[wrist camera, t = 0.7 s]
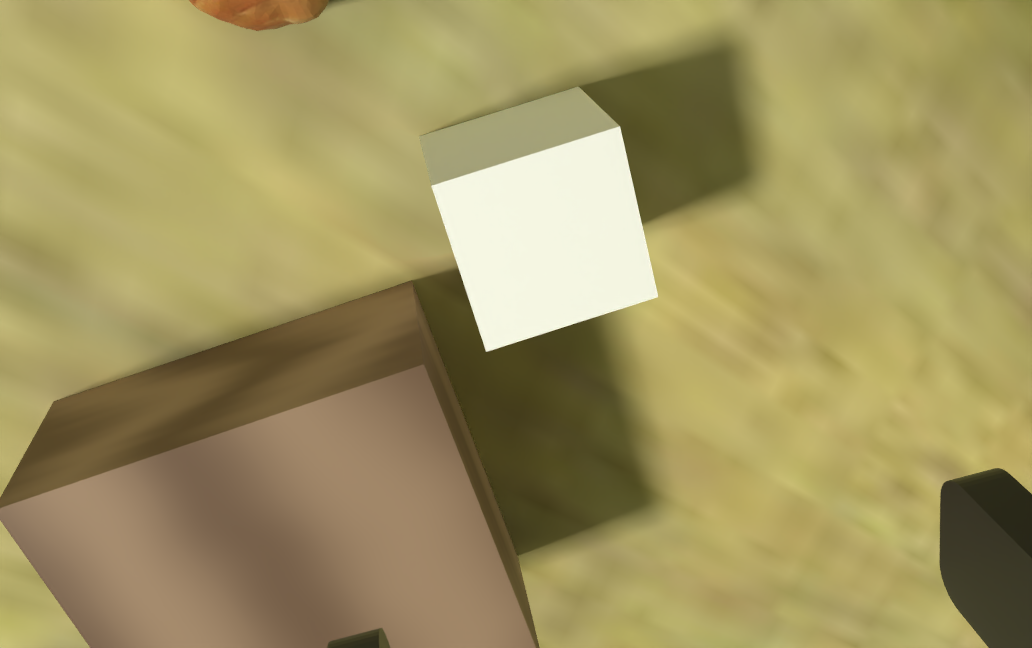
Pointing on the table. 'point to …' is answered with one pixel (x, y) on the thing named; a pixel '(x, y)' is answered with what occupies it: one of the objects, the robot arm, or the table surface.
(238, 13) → the pastry
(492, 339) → the cube
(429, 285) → the table surface
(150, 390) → the walnut box
